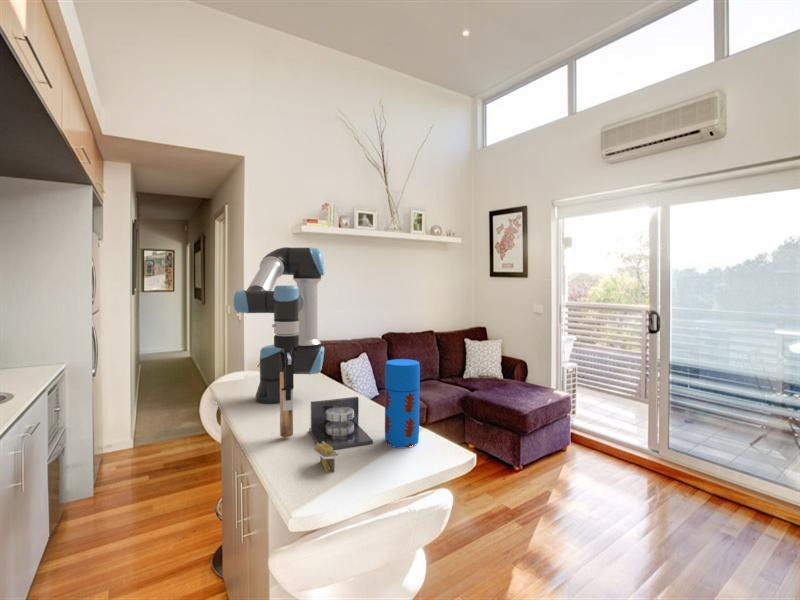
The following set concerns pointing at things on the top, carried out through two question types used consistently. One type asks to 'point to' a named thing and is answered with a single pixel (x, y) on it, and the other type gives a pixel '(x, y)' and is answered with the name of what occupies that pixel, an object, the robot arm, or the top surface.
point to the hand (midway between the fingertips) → (286, 407)
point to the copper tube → (285, 414)
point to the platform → (326, 455)
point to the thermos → (402, 402)
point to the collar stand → (337, 423)
